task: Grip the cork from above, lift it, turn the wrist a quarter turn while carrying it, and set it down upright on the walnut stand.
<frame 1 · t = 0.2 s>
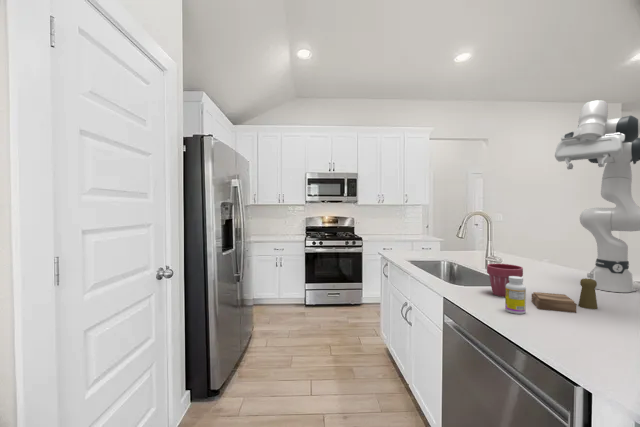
hand: (584, 167, 128), 54 cm above the worktop, tool tilted 30°, fingers open, 8 cm apart
supplement bottle: (515, 312, 129), on the worktop
plant pot: (504, 295, 154), on the worktop
walnut stand: (552, 306, 136), on the worktop
cork: (587, 307, 136), on the worktop
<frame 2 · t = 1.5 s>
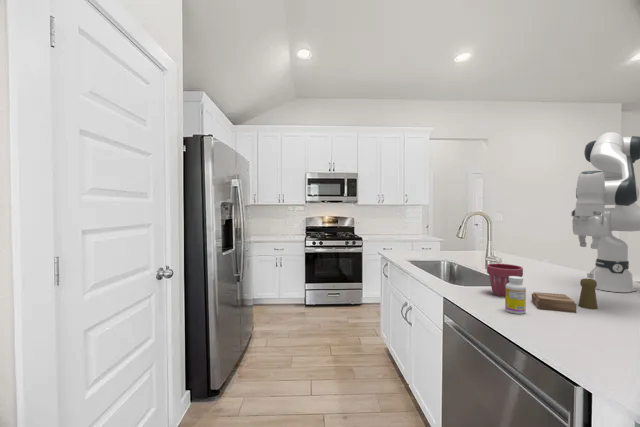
hand: (588, 247, 134), 23 cm above the worktop, tool pointing down, fingers open, 8 cm apart
nothing on the worktop moved.
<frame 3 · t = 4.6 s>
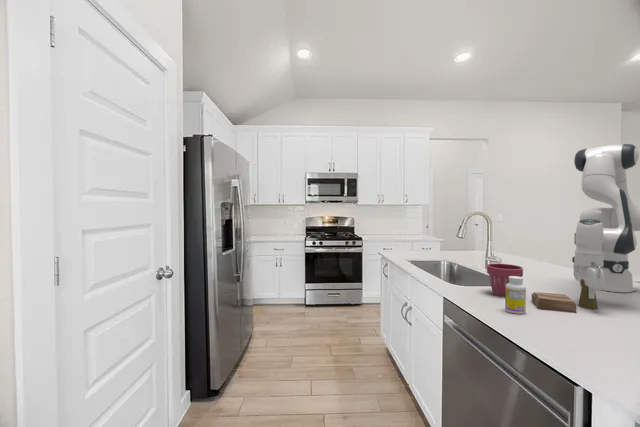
hand: (588, 296, 136), 4 cm above the worktop, tool pointing down, fingers closed on cork, 5 cm apart
cork: (587, 307, 136), on the worktop, touching gripper
everything else where it was.
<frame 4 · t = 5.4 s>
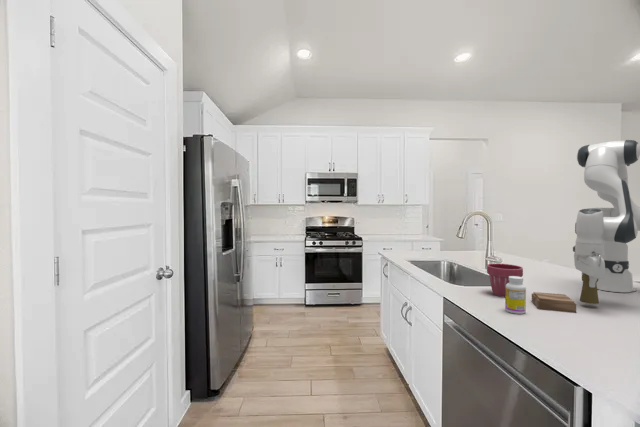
hand: (588, 285, 136), 8 cm above the worktop, tool pointing down, fingers closed on cork, 4 cm apart
cork: (589, 302, 136), point 2 cm above the worktop, touching gripper
everything else where it was.
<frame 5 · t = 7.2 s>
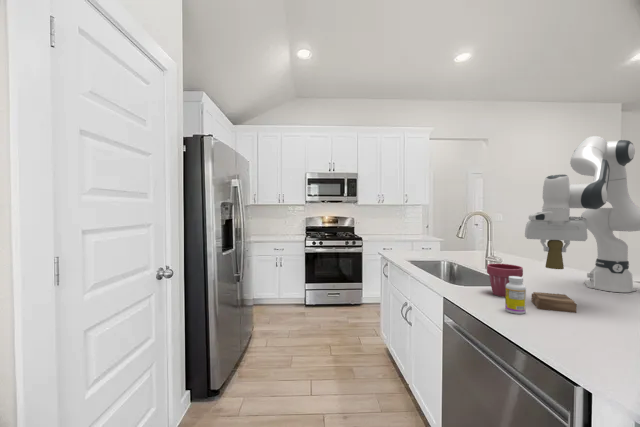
hand: (554, 251, 135), 22 cm above the worktop, tool pointing down, fingers closed on cork, 4 cm apart
cork: (554, 268, 135), point 15 cm above the worktop, touching gripper
everything else where it was.
when the fingers open (11 cm above the worktop, at t = 9.1 s): cork stays where it is, resting on walnut stand.
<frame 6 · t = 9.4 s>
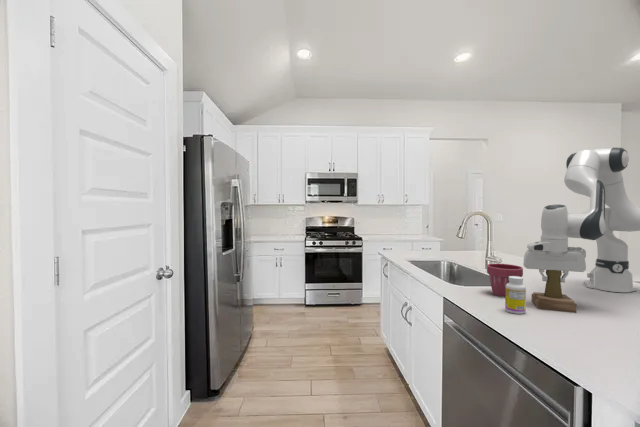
hand: (553, 281, 135), 10 cm above the worktop, tool pointing down, fingers open, 4 cm apart
cork: (553, 296, 136), point 4 cm above the worktop, touching gripper, walnut stand
everything else where it was.
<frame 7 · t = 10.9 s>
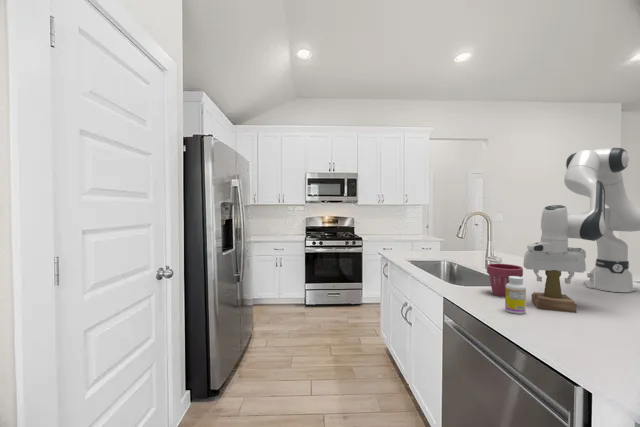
hand: (553, 282, 135), 10 cm above the worktop, tool pointing down, fingers open, 8 cm apart
cork: (552, 296, 136), point 4 cm above the worktop, touching walnut stand
everything else where it was.
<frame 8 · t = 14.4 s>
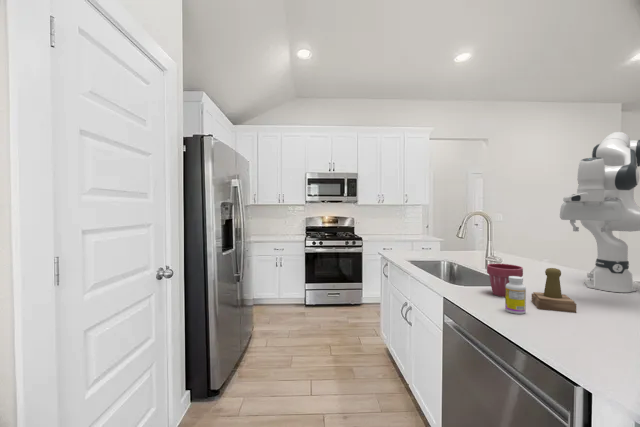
hand: (589, 231, 140), 29 cm above the worktop, tool pointing down, fingers open, 8 cm apart
nothing on the worktop moved.
at the end: cork 0.2 cm off-centre on the walnut stand, point 3.8 cm above the walnut stand's base; cork tilted 0°; the gripper is holding nothing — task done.
